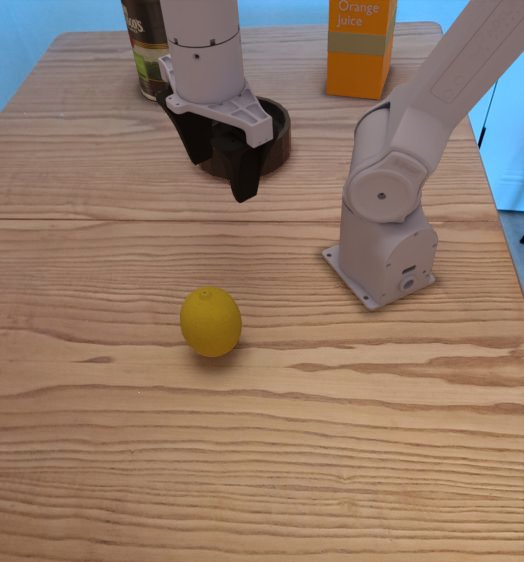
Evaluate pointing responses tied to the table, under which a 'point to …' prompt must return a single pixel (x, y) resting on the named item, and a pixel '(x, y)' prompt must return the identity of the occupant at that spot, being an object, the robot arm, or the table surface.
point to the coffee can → (147, 42)
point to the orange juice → (359, 46)
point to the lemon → (210, 321)
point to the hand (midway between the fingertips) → (223, 178)
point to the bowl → (277, 152)
